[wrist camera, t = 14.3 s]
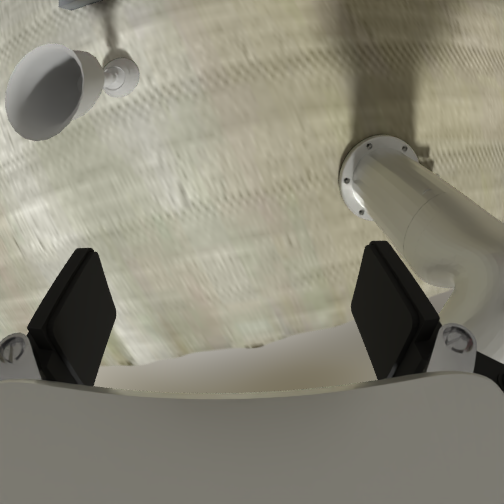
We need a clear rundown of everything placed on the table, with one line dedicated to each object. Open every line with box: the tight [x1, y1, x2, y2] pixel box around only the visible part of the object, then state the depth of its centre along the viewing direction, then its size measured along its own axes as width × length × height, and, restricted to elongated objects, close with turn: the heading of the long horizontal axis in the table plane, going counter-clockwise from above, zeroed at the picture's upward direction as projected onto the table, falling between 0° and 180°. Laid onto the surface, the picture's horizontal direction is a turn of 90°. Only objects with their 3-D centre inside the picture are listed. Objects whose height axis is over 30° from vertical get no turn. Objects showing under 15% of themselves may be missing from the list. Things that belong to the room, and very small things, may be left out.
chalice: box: [5, 43, 139, 141], centre depth 23 cm, size 7×7×18 cm
